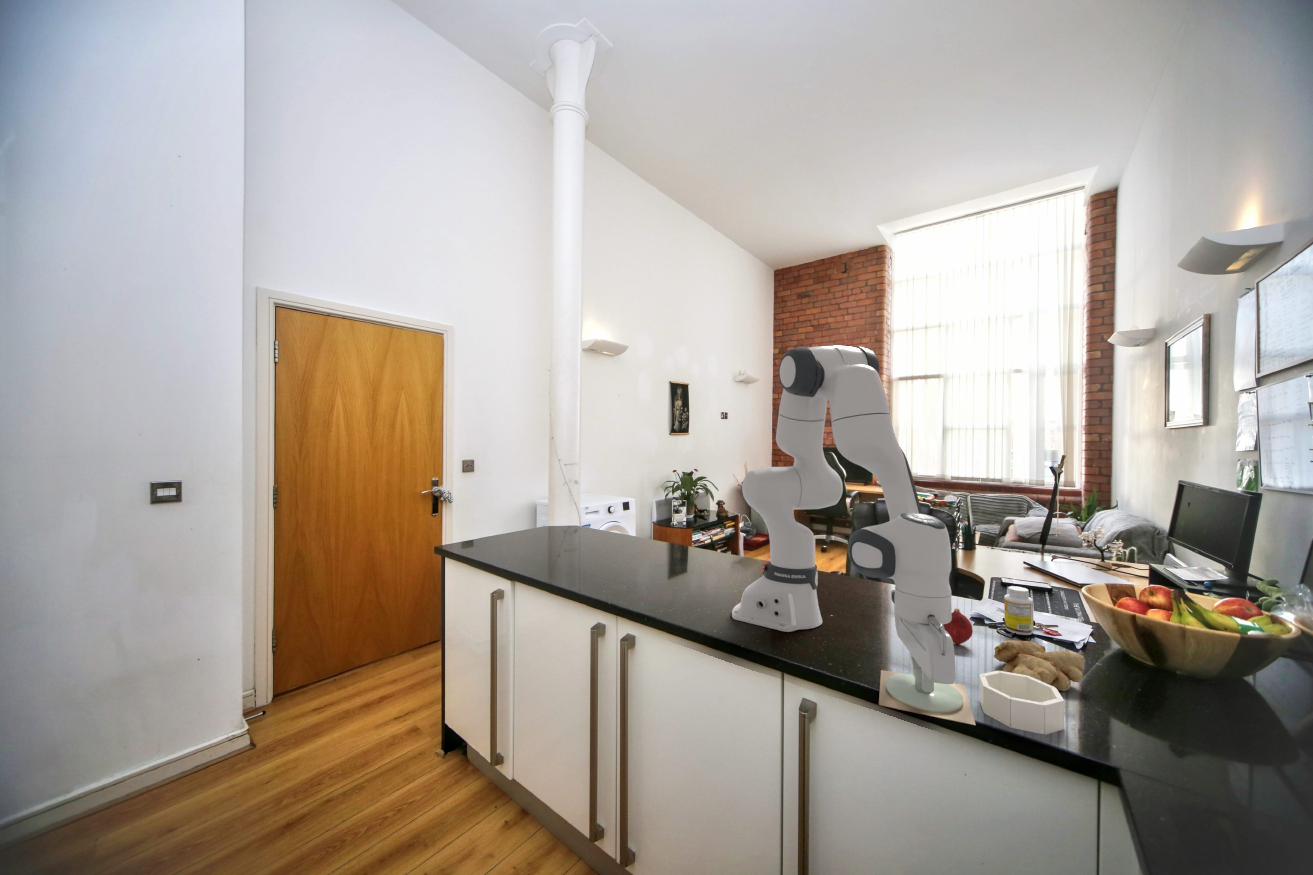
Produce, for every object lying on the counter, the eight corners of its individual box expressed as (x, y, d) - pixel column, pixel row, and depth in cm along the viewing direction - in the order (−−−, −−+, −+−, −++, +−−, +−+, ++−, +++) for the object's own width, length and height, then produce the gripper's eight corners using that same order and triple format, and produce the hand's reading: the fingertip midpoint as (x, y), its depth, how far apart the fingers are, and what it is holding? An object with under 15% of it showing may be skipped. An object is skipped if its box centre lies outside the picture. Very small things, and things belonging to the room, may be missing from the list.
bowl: (986, 725, 79) (986, 694, 79) (976, 694, 88) (976, 666, 88) (1070, 743, 74) (1070, 710, 74) (1050, 708, 84) (1050, 679, 84)
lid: (885, 703, 84) (885, 678, 84) (886, 673, 95) (885, 650, 95) (968, 719, 79) (967, 693, 79) (958, 686, 90) (958, 662, 90)
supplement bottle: (1012, 625, 121) (1012, 583, 121) (1038, 633, 116) (1038, 589, 116) (999, 629, 119) (999, 586, 119) (1024, 637, 114) (1024, 593, 114)
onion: (977, 651, 106) (977, 614, 106) (948, 648, 108) (947, 612, 108) (966, 640, 112) (966, 605, 112) (938, 638, 113) (938, 603, 113)
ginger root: (1040, 652, 103) (1045, 618, 101) (1106, 711, 87) (1114, 673, 85) (964, 654, 103) (968, 620, 101) (1016, 713, 88) (1021, 675, 86)
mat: (878, 707, 84) (878, 704, 84) (881, 672, 97) (881, 669, 97) (975, 728, 78) (975, 724, 78) (964, 688, 90) (964, 685, 90)
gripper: (967, 629, 77) (967, 718, 76) (922, 590, 97) (923, 660, 97) (923, 626, 78) (923, 714, 78) (888, 588, 98) (888, 657, 98)
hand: (923, 684), depth 87 cm, fingers closed on lid, 3 cm apart
